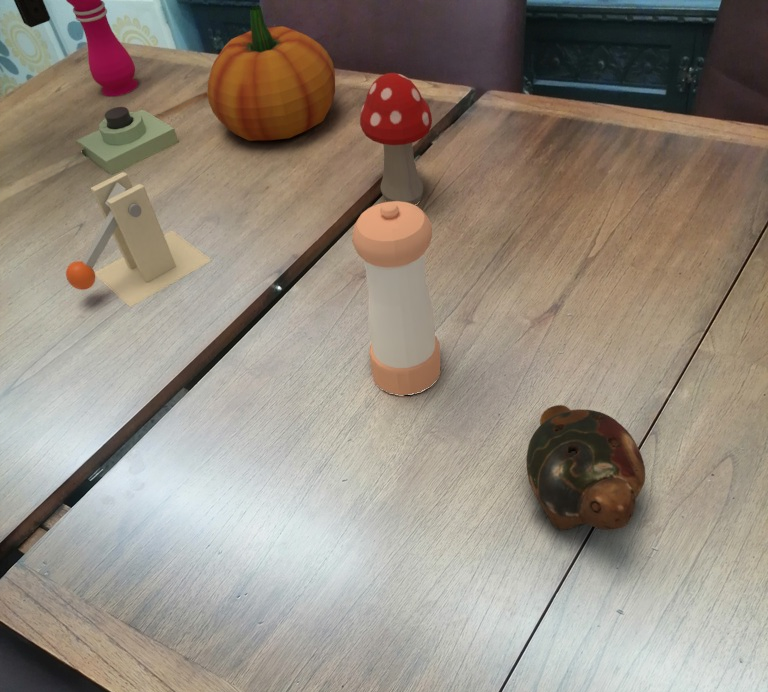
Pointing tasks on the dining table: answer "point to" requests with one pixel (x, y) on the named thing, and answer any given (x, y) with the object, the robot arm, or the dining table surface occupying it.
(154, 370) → the dining table surface
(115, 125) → the button
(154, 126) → the control block
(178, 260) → the wooden pivot stand
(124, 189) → the switch lever
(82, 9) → the pepper mill
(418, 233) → the salt shaker
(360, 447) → the dining table surface
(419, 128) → the decorative mushroom
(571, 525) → the decorative turtle
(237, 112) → the pumpkin
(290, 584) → the dining table surface
